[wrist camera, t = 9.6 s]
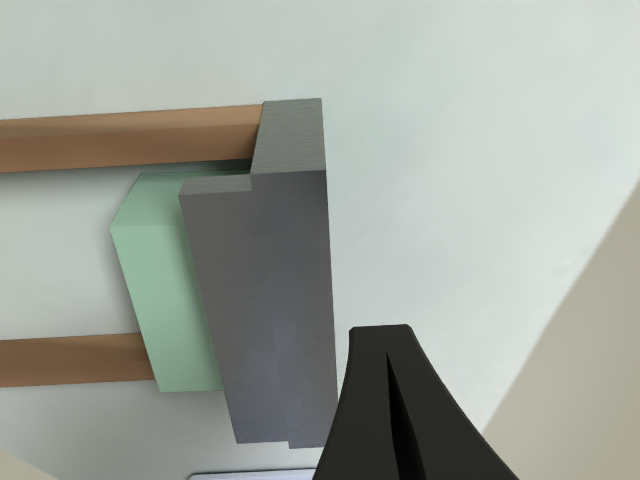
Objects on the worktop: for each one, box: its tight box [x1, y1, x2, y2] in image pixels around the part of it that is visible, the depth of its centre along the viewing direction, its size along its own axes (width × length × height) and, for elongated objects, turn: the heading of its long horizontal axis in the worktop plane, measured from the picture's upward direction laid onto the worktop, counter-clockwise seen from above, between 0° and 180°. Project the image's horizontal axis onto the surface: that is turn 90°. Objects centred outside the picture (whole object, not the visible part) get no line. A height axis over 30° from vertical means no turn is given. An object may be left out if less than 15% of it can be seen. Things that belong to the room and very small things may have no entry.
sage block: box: [109, 170, 251, 392], centre depth 20 cm, size 8×5×4 cm, turn 2°
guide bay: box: [0, 98, 338, 449], centre depth 19 cm, size 12×18×6 cm, turn 93°
